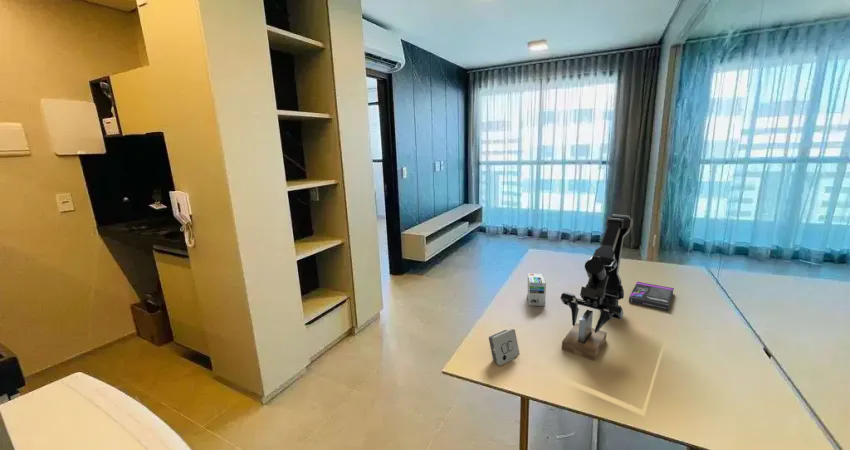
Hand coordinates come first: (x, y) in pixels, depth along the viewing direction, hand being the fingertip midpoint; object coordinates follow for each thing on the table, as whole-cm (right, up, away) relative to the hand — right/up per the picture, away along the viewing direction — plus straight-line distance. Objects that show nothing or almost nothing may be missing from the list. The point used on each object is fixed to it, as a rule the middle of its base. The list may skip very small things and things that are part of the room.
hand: (584, 328), depth 110 cm
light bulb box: (-4, +1, +37) cm, 37 cm away
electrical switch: (-27, -10, -1) cm, 28 cm away
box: (+45, +2, +34) cm, 57 cm away
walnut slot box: (+1, -7, +3) cm, 8 cm away
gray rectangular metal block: (+1, -6, +3) cm, 7 cm away
